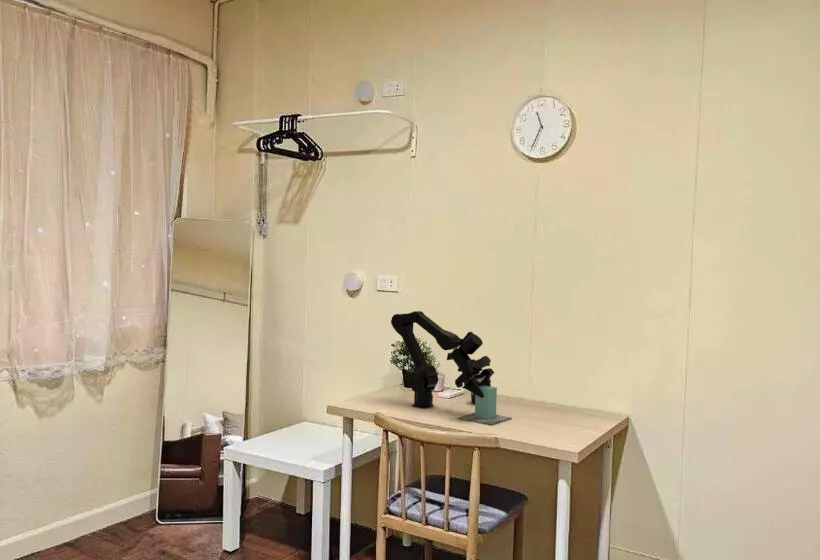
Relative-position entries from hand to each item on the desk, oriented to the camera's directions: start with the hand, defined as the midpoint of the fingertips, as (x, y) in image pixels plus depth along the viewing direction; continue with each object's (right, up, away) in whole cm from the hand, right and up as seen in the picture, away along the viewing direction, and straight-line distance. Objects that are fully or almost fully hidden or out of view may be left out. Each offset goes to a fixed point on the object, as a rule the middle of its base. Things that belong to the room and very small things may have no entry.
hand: (487, 396), depth 244 cm
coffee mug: (0, -8, +29) cm, 30 cm away
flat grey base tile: (-1, -9, +1) cm, 9 cm away
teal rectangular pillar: (-1, -8, +1) cm, 8 cm away
